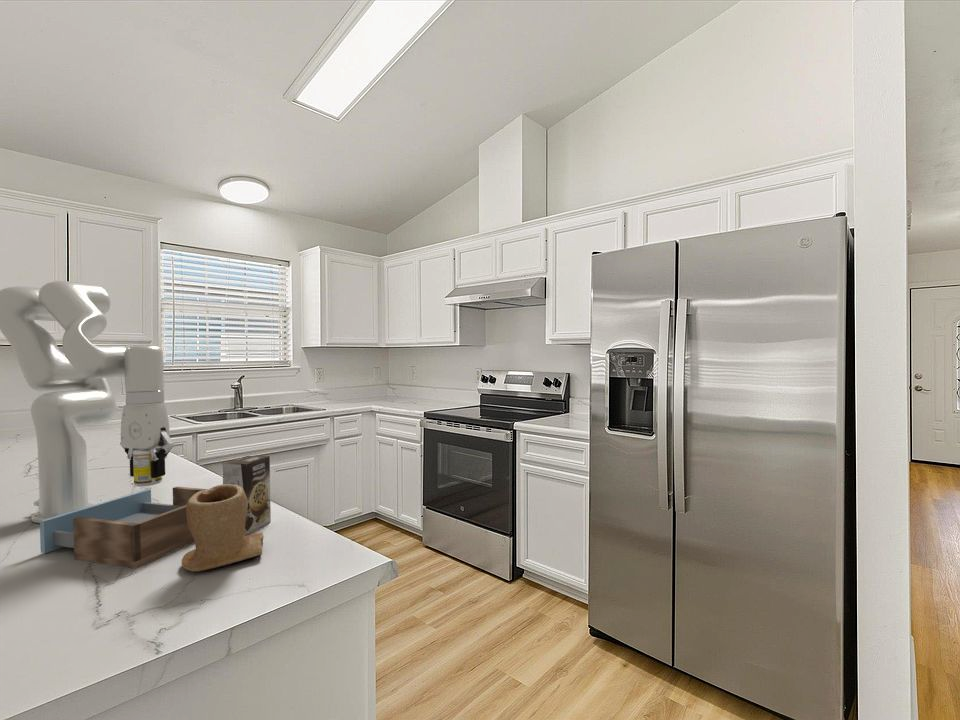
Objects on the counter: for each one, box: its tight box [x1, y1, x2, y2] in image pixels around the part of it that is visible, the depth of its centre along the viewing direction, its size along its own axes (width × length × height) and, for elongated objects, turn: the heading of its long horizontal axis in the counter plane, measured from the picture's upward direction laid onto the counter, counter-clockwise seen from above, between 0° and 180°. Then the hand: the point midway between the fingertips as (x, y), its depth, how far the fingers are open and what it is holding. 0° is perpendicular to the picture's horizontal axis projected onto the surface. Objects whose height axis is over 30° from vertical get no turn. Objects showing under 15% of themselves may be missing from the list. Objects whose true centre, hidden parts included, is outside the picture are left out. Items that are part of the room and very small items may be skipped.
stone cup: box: [181, 484, 264, 572], centre depth 98 cm, size 15×12×15 cm
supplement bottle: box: [133, 449, 163, 487], centre depth 117 cm, size 6×6×10 cm
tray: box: [39, 488, 182, 554], centre depth 112 cm, size 16×24×7 cm, turn 163°
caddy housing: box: [73, 486, 209, 569], centre depth 110 cm, size 16×24×8 cm, turn 163°
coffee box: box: [222, 455, 272, 536], centre depth 117 cm, size 9×6×16 cm
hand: (147, 475), depth 118 cm, fingers closed on supplement bottle, 5 cm apart
